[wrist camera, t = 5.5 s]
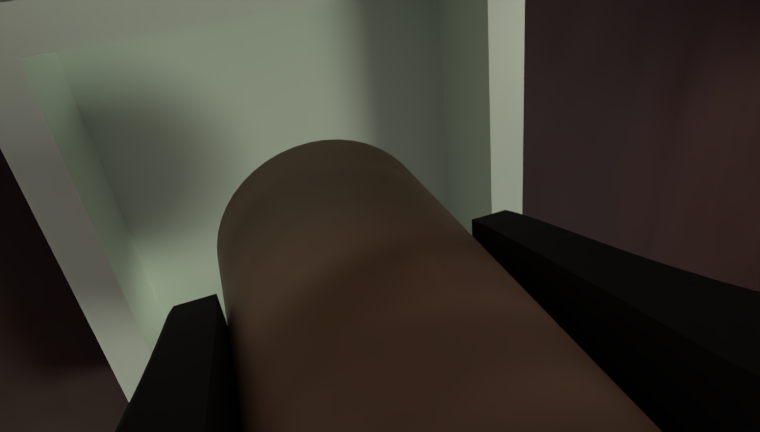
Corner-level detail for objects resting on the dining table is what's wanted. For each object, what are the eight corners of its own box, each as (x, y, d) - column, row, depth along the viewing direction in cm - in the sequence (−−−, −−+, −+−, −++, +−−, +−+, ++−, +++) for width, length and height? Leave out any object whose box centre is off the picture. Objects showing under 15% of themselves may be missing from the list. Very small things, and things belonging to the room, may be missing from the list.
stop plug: (419, 116, 10) (795, 408, 4) (433, 294, 12) (697, 664, 6) (187, 171, 9) (226, 657, 3) (246, 353, 11) (339, 859, 5)
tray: (454, -81, 12) (525, -82, 10) (469, 264, 17) (520, 321, 15) (-11, -9, 10) (-69, 13, 8) (154, 361, 15) (151, 448, 13)
